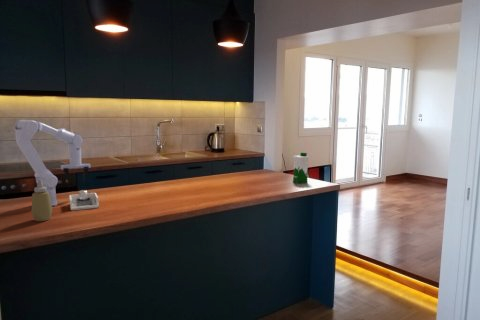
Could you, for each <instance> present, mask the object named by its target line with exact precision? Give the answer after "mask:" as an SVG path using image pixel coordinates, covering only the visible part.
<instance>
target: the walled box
mask: <svg viewBox="0 0 480 320" xmlns="http://www.w3.org/2000/svg"><path fill="white" fill-rule="evenodd" d="M68 196H69V197H68V198H69V207H70V211H72V212H73V211H81V210H83V211H84V210H90V209H100V205H99V196H98V194H97V193H96V192H90V193H89V192H87V197H88V198H91V199H92V205H88V206H79V207H77V206H76V199H80V195H79V193H78V194H77V193H76V194H69V195H68Z"/></svg>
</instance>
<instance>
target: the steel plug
mask: <svg viewBox="0 0 480 320" xmlns="http://www.w3.org/2000/svg"><path fill="white" fill-rule="evenodd" d="M87 193H88V190H87V189H82V190H79V191H78V194H79V195H80V201H88V197H87Z"/></svg>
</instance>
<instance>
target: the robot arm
mask: <svg viewBox="0 0 480 320" xmlns="http://www.w3.org/2000/svg"><path fill="white" fill-rule="evenodd" d="M13 130H14V132H15V142H16V145H17V146H18V148H19V150H20V151H21V152H22V154H23V156H24V158H25V159H26V160H27V163H28V164H29V165H30V167H31V169H32V170H33V171H34V177H35V182H36V185H37V184H38V180H39V179H41V180H42V183H43V186H44V187H46V189H47V191H46V192H49V195H50V200H51V206H52V207H55V206H58V201H57V193H56V186H57V184H58V181H59V179H58V177H57V176H56V175H54V174H53V173H52V172H51V170H50V169H48V168H47V167H46V165H45V164H44V162H43V160H42V159H41V157H40V156H39V154H38V152H37V149H35V147H34V145H33V143H32V142H31V140H32V138H33V137H34V135H35V134H36V133H37V132H43V133H46V134H49V135H52V136H54V137H55V139H56V140H58V141H62V142H64V143H66V144H68V155H69V156H68V157H69V164H62V165H60V169H61V170H62V171H63V173H64V174H65V177H66V179H67V183H70V182H71V181H70V173H69V172H70V171H69V170H70V169H83V182H86V178H87V174H88V172H89V169H90V168H92V167H91V166H92V165H91V163H82V149H81V148H82V143H83V140H84V139H83V138H82V136H81V135H80V134H75V133H74V132H73V131H69V130H67V129H66V128H64V127H61V128H58V129H56V128H54V127H53V126H50V125H48V124H45V123H43V122H40V121H36V120H33V119H19V120H17V121H16V122H15V124H14V126H13Z"/></svg>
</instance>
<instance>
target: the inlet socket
mask: <svg viewBox="0 0 480 320" xmlns="http://www.w3.org/2000/svg"><path fill="white" fill-rule="evenodd" d="M88 205H92V199H91V198H88V201H80V199H76V206H77V207H79V206H88Z"/></svg>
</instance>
